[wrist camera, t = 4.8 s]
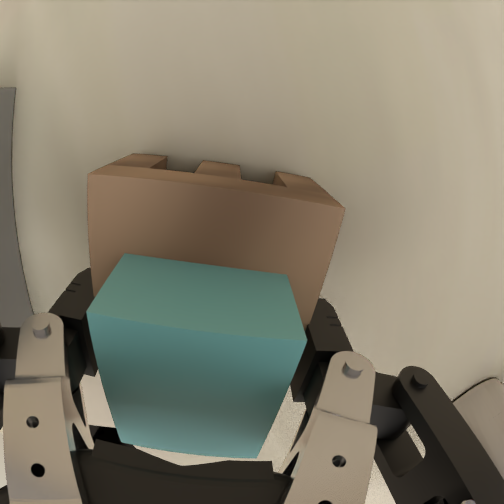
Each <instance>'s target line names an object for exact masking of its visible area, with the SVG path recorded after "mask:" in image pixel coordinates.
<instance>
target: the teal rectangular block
mask: <svg viewBox="0 0 504 504" xmlns="http://www.w3.org/2000/svg"><path fill="white" fill-rule="evenodd" d="M86 313H87V319H88V324H89V329H90V335H91V339H92V344H93V349H94V353H95V357H96V362H97V366H98V370H99V374H100V377H101V381H102V385H103V388H104V392H105V395H106V399H107V402H108V405H109V408H110V412H111V415H112V418H113V421H114V424H115V426H116V429H117V432H118V435H119V438H120V440H121V442H123V443H127V444H132V445H137V446H142V447H147V448H152V449H158V450H164V451H171V452H178V453H186V454H194V455H204V456H216V457H231V458H257V456H258V454H259V452H260V450H261V448H262V446H263V444H264V442H265V439H266V437H267V435H268V433H269V431H270V429H271V427H272V424H273V422H274V420H275V418H276V415H277V413H278V411H279V409H280V406H281V404H282V402H283V400H284V397H285V395H286V393H287V390H288V388H289V385H290V383H291V381H292V378H293V376H294V373H295V371H296V368H297V366H298V363H299V361H300V358H301V356H302V353H303V351H304V348H305V345H306V343H307V338H306V335H305V331H304V328H303V325H302V321H301V318H300V315H299V312H298V308H297V305H296V302H295V299H294V295H293V292H292V289H291V286H290V283H289V280H288V276H287V275H286V274H277V273H269V272H261V271H253V270H245V269H237V268H229V267H222V266H214V265H206V264H199V263H191V262H184V261H177V260H169V259H162V258H155V257H148V256H141V255H134V254H127V253H125V254H124V255H123V256H122V258H121V259H120V261H119V262H118V264H117V265H116V267H115V268H114V269H113V271H112V272H111V274H110V275H109V277H108V278H107V280H106V281H105V283H104V284H103V286H102V288H101V289H100V291H99V292H98V294H97V295H96V297H95V298H94V300H93V302H92V303H91V305H90V306H89V308H88V310H87V311H86Z"/></svg>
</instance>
